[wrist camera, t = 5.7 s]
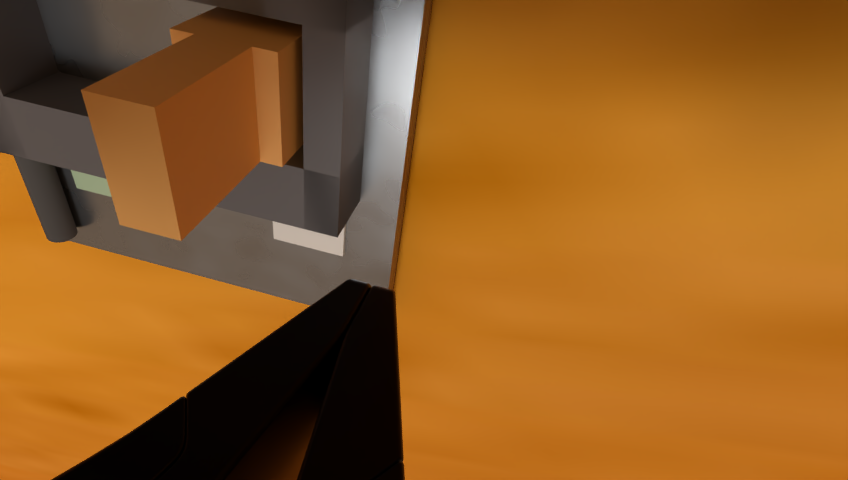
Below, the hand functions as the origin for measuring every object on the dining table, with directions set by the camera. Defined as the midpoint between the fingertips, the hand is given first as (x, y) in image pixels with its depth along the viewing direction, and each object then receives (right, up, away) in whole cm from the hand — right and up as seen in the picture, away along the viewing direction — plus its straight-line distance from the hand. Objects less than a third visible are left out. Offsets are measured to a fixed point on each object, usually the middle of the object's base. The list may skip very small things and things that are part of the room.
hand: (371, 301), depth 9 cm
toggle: (-4, +7, +8) cm, 11 cm away
